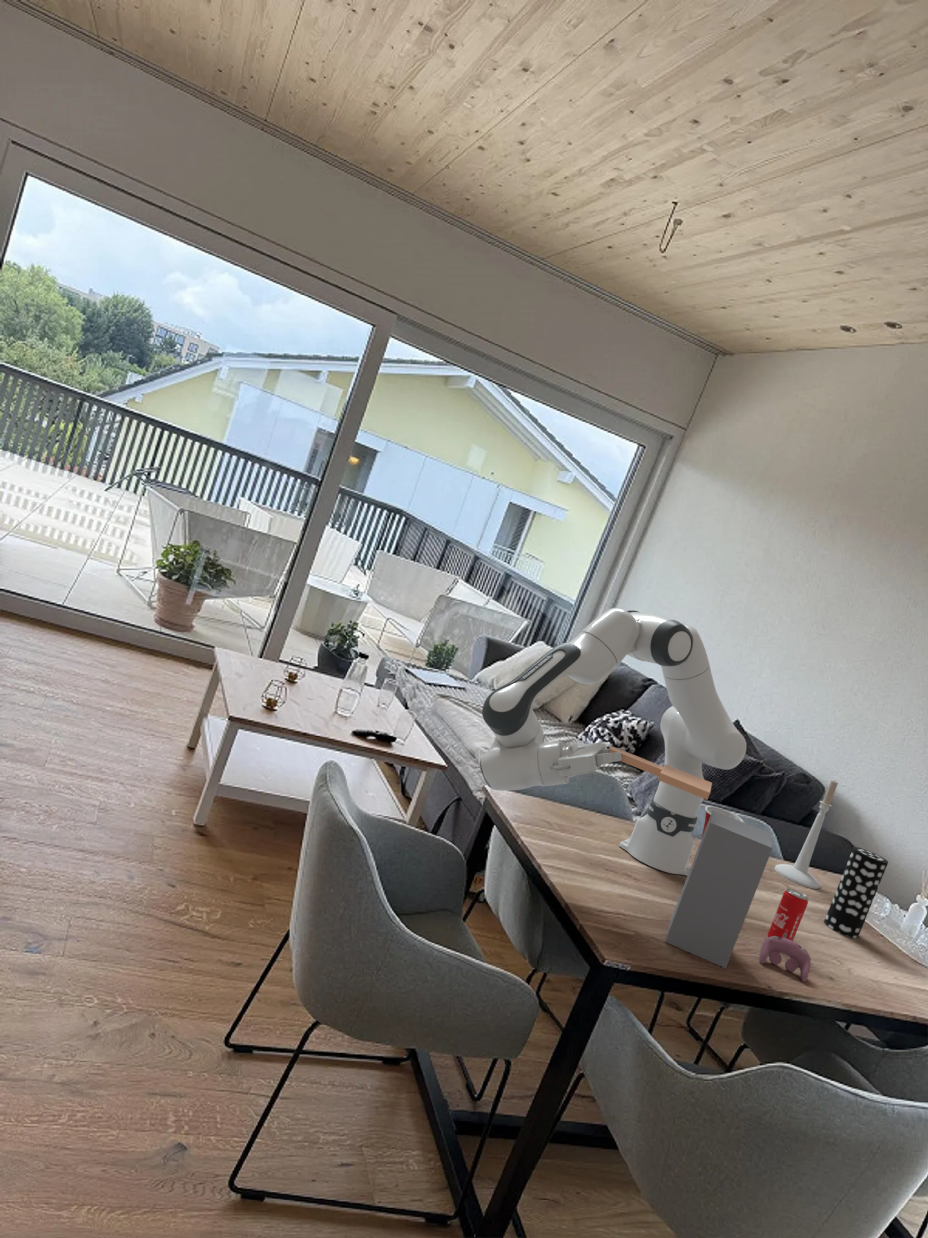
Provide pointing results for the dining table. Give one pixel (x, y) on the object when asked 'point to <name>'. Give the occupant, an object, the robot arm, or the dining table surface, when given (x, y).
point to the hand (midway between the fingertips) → (623, 754)
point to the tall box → (719, 888)
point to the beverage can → (788, 914)
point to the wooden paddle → (669, 774)
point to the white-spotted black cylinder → (855, 892)
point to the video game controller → (790, 948)
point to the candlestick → (808, 847)
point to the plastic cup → (725, 812)
